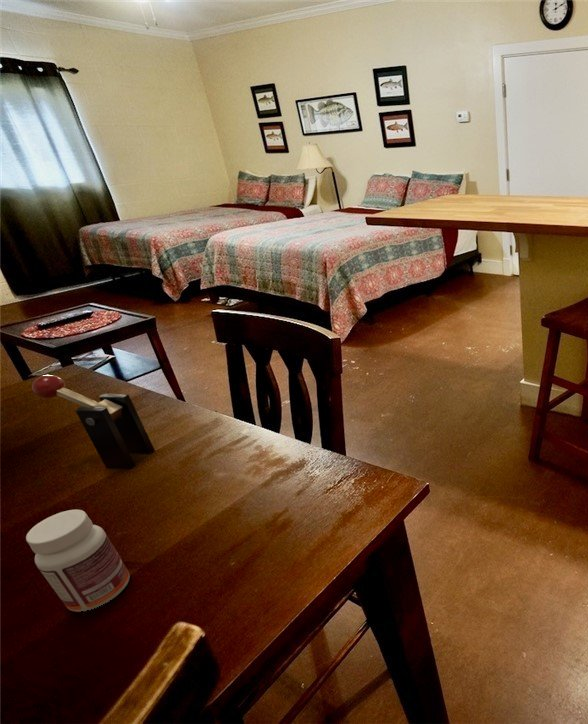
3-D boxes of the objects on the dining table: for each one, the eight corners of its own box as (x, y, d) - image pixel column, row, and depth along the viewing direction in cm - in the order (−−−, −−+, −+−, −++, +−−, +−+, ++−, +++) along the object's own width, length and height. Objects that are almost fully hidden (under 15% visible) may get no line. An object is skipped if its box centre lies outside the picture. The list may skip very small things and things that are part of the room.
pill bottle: (140, 566, 62) (103, 501, 57) (115, 607, 57) (72, 539, 52) (85, 576, 61) (42, 511, 56) (54, 619, 56) (4, 551, 50)
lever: (24, 395, 73) (25, 378, 72) (47, 383, 76) (48, 367, 75) (105, 429, 75) (107, 413, 74) (124, 417, 79) (126, 401, 77)
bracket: (91, 478, 78) (54, 413, 72) (127, 452, 84) (96, 390, 79) (142, 480, 77) (109, 415, 72) (174, 453, 84) (146, 391, 78)
